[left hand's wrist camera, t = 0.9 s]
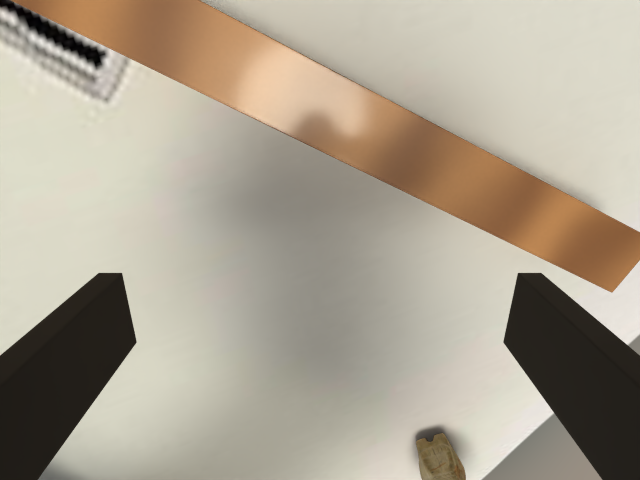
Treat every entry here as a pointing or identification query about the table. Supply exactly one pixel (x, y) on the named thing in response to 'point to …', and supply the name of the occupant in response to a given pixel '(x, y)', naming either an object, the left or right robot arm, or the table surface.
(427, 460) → the sculpture
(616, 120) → the table surface
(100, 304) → the left robot arm
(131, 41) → the post
